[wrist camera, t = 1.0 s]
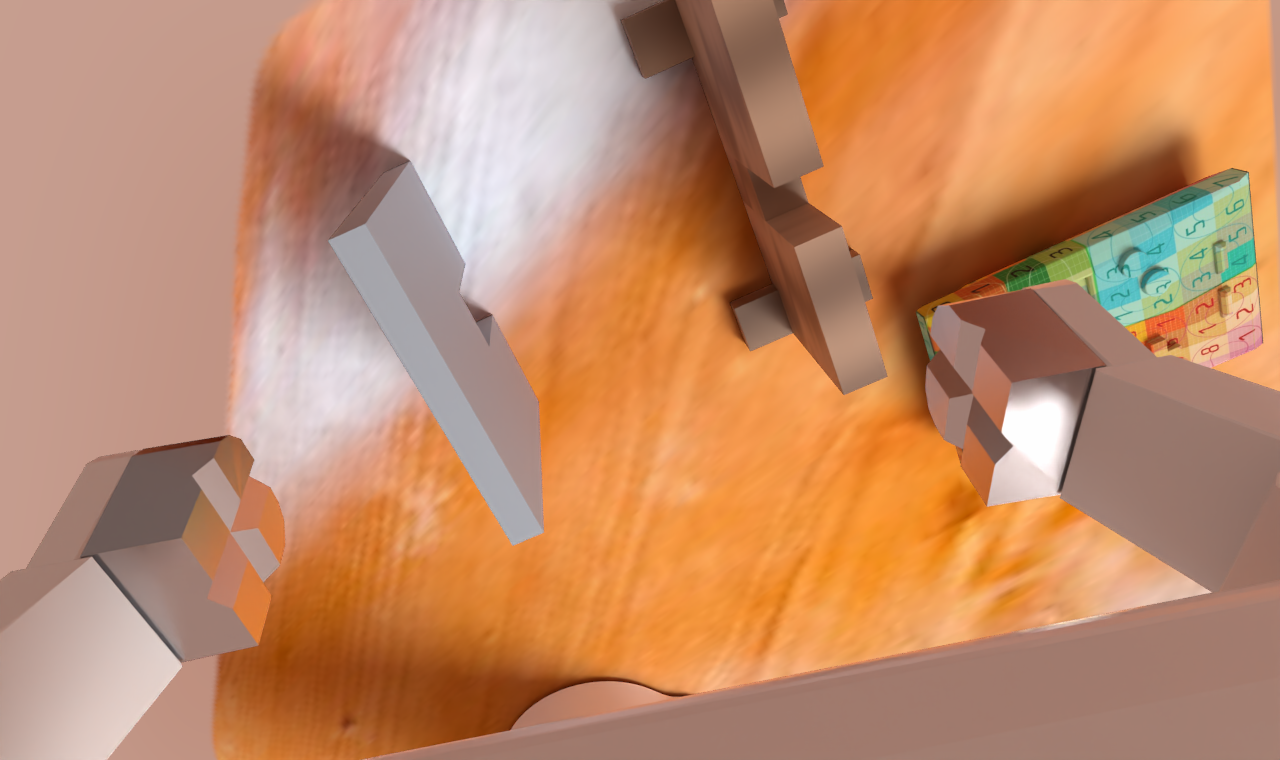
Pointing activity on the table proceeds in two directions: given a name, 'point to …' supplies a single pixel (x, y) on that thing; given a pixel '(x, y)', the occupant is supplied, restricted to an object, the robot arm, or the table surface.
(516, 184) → the table surface
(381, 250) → the grey notched slab
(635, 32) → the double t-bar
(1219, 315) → the puzzle game
